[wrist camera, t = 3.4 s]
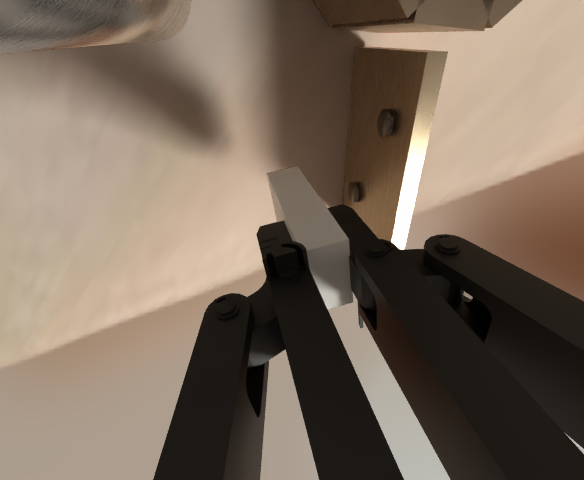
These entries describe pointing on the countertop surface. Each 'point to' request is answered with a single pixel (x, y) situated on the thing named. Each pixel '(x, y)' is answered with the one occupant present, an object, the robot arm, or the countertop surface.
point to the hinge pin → (87, 22)
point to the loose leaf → (389, 134)
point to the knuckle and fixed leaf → (414, 14)
